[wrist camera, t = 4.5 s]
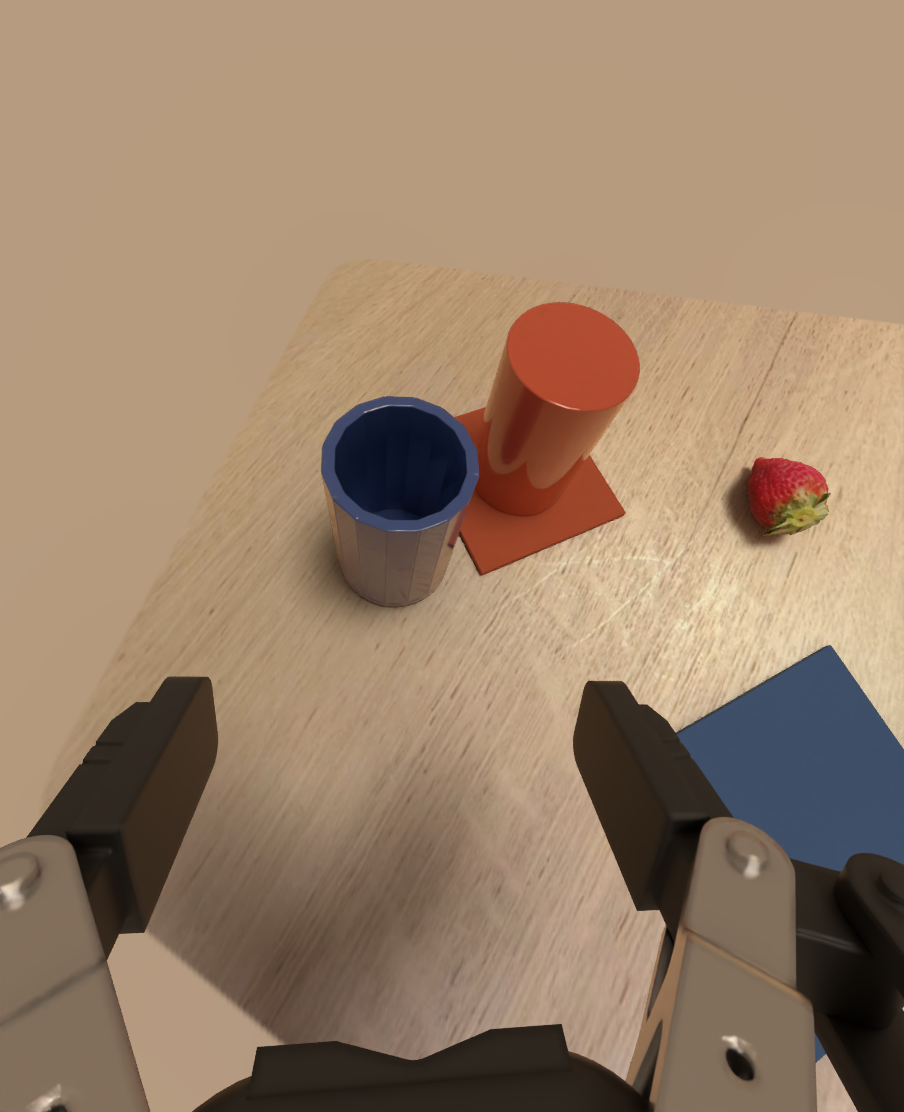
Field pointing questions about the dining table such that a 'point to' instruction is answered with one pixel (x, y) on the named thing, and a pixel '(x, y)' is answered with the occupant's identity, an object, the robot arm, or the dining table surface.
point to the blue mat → (807, 765)
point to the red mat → (534, 516)
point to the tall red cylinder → (551, 404)
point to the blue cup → (397, 495)
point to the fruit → (786, 495)
